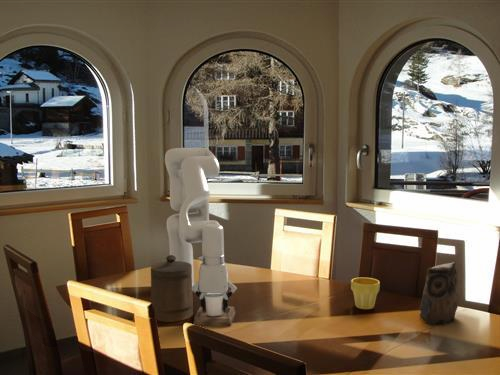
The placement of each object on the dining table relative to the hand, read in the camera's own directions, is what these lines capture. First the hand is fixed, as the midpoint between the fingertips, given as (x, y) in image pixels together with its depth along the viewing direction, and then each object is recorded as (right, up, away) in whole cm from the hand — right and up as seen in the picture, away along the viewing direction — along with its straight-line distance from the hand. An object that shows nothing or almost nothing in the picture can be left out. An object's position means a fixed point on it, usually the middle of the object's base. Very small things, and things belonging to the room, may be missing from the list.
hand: (214, 309), depth 196 cm
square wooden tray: (0, -4, 0) cm, 4 cm away
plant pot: (+55, -2, +11) cm, 56 cm away
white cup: (0, -2, 0) cm, 2 cm away
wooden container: (-16, -4, +5) cm, 17 cm away
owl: (+77, -3, -3) cm, 77 cm away
